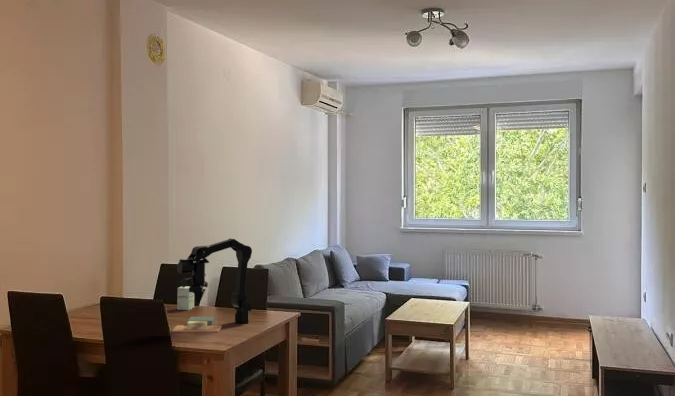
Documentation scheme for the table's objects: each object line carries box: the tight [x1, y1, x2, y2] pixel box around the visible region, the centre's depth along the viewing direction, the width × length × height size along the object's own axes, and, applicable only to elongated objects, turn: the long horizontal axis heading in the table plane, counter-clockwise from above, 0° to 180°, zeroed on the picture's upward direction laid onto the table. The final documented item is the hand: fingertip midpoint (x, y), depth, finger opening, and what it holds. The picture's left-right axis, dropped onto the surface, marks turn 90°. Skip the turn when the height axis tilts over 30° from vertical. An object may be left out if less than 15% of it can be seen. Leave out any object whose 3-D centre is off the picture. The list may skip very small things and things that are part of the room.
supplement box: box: [176, 285, 195, 311], centre depth 350 cm, size 7×7×13 cm
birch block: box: [186, 320, 207, 329], centre depth 297 cm, size 9×5×3 cm, turn 92°
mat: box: [171, 324, 223, 333], centre depth 298 cm, size 22×12×1 cm, turn 93°
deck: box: [186, 316, 216, 326], centre depth 309 cm, size 12×10×3 cm
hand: (198, 304), depth 300 cm, fingers closed
